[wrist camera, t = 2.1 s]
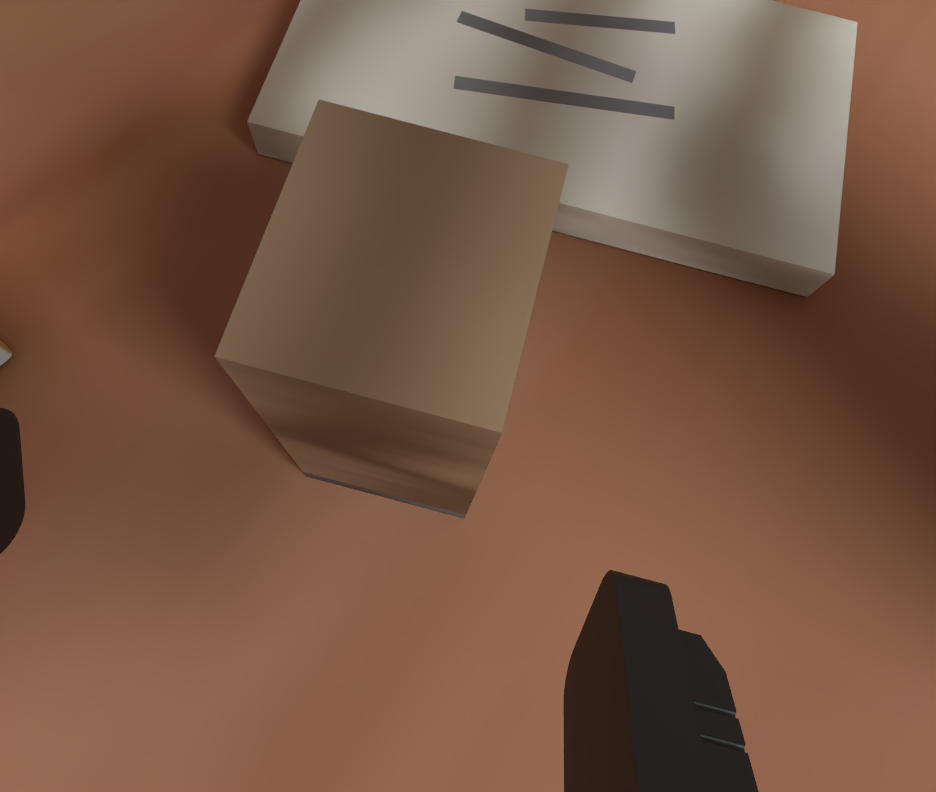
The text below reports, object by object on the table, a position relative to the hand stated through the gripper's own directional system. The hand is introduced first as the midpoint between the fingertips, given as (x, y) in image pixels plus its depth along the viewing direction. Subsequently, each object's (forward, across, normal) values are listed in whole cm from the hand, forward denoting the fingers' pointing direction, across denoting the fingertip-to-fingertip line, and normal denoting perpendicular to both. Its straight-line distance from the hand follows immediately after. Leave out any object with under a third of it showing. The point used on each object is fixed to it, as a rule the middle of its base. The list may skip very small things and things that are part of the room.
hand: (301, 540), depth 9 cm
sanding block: (+10, 0, +3) cm, 11 cm away
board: (+18, -2, -5) cm, 19 cm away
